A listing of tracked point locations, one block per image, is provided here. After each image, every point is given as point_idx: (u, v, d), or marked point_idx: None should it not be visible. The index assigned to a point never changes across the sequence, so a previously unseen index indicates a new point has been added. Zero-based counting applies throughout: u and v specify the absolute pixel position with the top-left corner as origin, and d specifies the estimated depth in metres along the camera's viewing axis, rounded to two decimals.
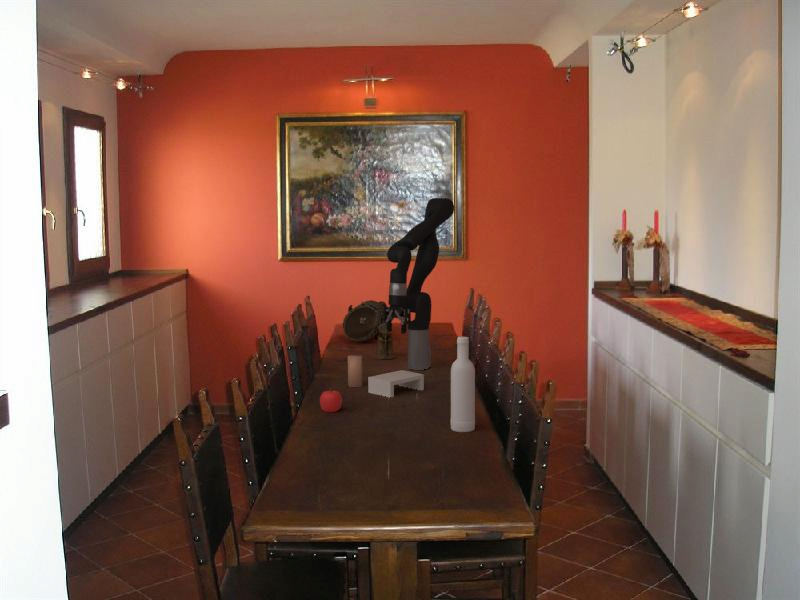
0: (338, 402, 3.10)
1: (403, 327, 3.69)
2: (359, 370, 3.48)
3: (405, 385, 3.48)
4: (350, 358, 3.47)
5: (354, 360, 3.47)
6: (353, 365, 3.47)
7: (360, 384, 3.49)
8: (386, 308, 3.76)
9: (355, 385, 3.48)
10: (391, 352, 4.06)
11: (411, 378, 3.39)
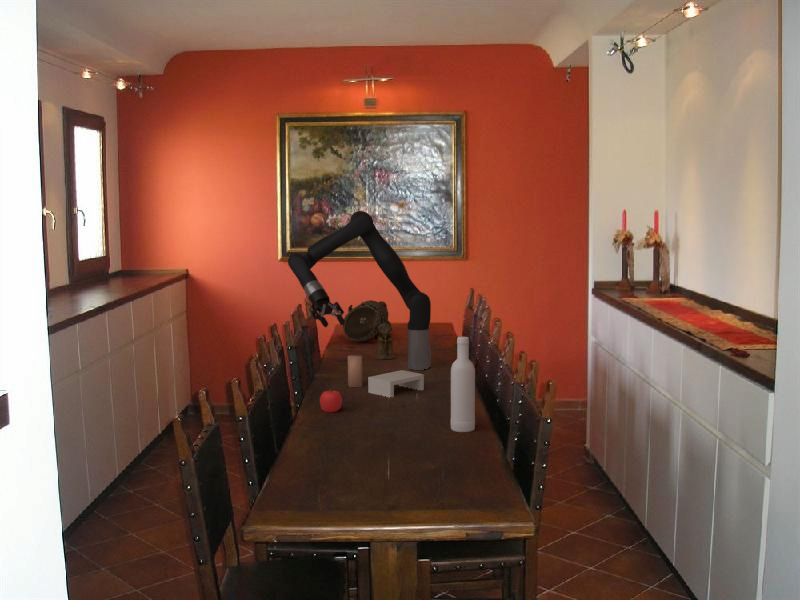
0: (338, 402, 3.10)
1: None
2: (359, 370, 3.48)
3: (405, 385, 3.48)
4: (350, 358, 3.47)
5: (354, 360, 3.47)
6: (352, 365, 3.47)
7: (360, 384, 3.49)
8: None
9: (355, 385, 3.48)
10: (391, 352, 4.06)
11: (411, 378, 3.39)
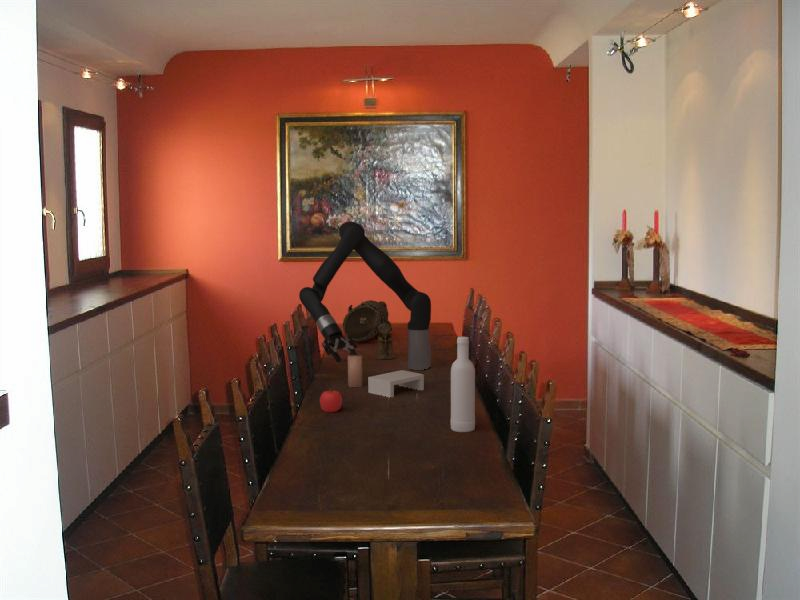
0: (338, 402, 3.10)
1: None
2: (359, 370, 3.48)
3: (405, 385, 3.48)
4: (350, 358, 3.47)
5: (354, 360, 3.47)
6: (352, 365, 3.47)
7: (360, 384, 3.49)
8: None
9: (355, 385, 3.48)
10: (391, 352, 4.06)
11: (411, 378, 3.39)
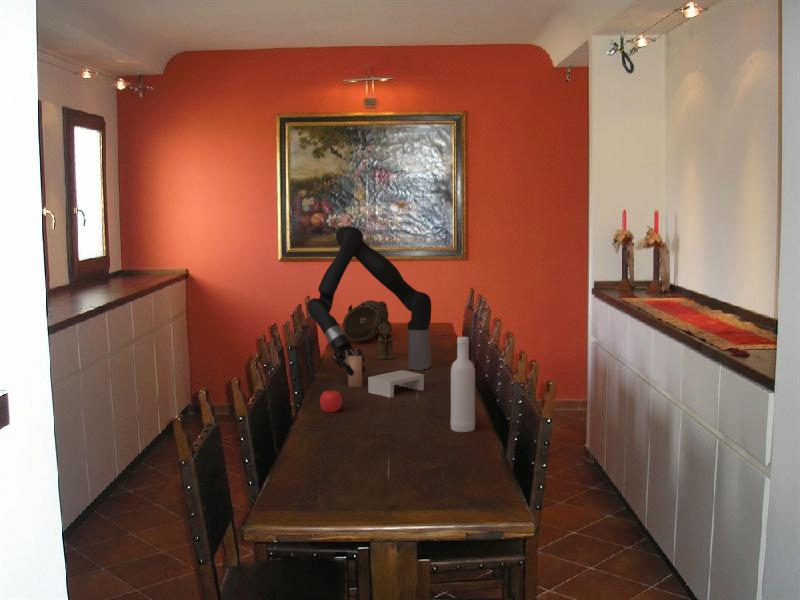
0: (338, 402, 3.10)
1: None
2: (359, 370, 3.48)
3: (405, 385, 3.48)
4: (350, 358, 3.47)
5: (354, 360, 3.47)
6: (353, 365, 3.47)
7: (360, 384, 3.49)
8: None
9: (355, 385, 3.48)
10: (391, 352, 4.06)
11: (411, 378, 3.39)
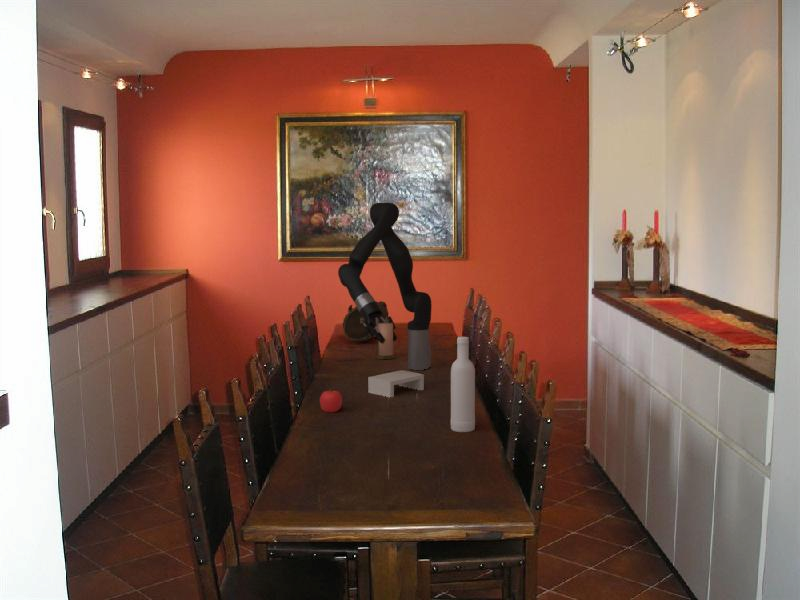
0: (338, 402, 3.10)
1: None
2: (390, 338, 3.39)
3: (405, 385, 3.48)
4: (381, 325, 3.39)
5: (385, 327, 3.38)
6: (383, 332, 3.38)
7: (391, 352, 3.40)
8: (386, 320, 3.49)
9: (386, 353, 3.39)
10: None
11: (411, 378, 3.39)
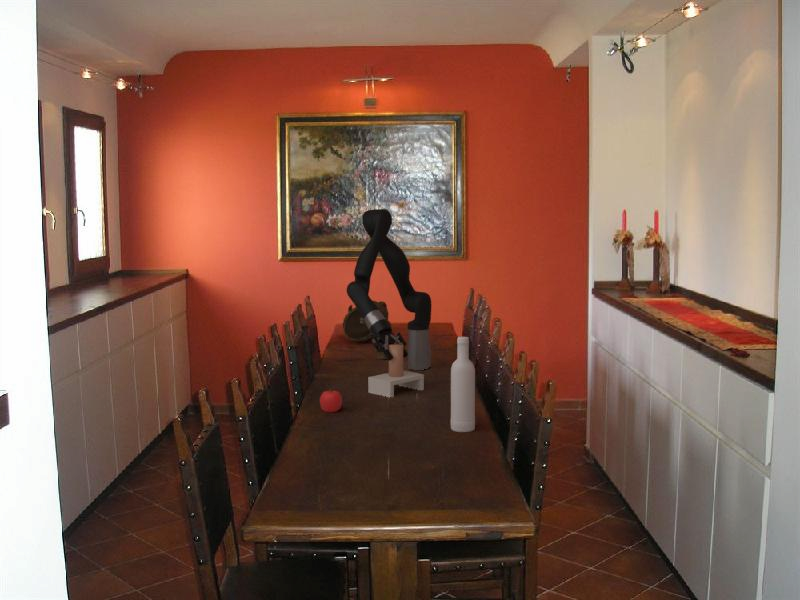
0: (338, 402, 3.10)
1: None
2: (400, 359, 3.38)
3: (405, 385, 3.48)
4: (391, 347, 3.38)
5: (395, 348, 3.37)
6: (394, 354, 3.38)
7: (401, 373, 3.39)
8: None
9: (396, 374, 3.38)
10: None
11: (411, 378, 3.39)
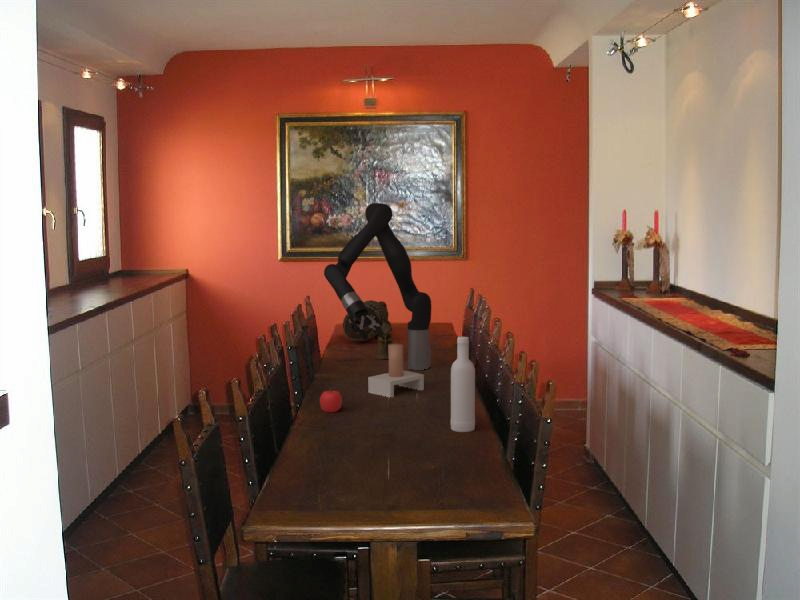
0: (338, 402, 3.10)
1: None
2: (400, 359, 3.38)
3: (405, 385, 3.48)
4: (391, 347, 3.38)
5: (395, 348, 3.37)
6: (393, 354, 3.38)
7: (401, 373, 3.39)
8: None
9: (396, 374, 3.38)
10: None
11: (411, 378, 3.39)
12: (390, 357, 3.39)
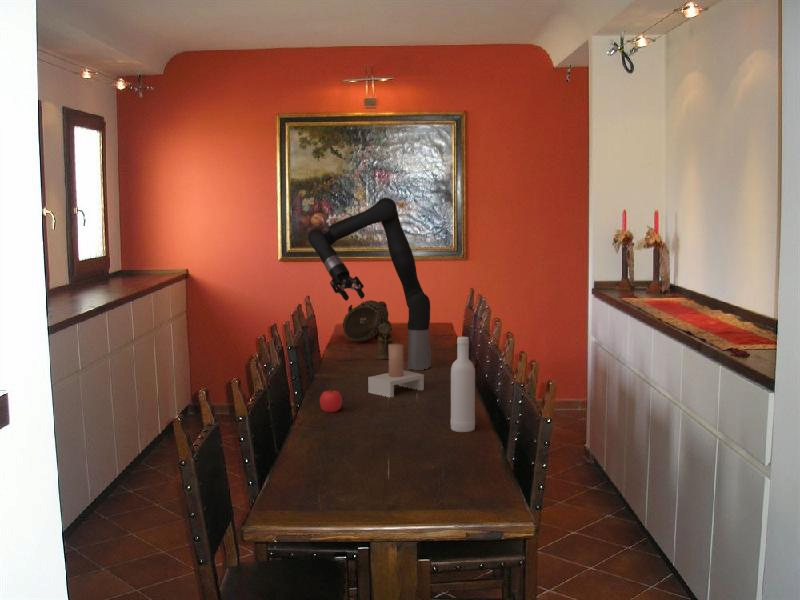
0: (338, 402, 3.10)
1: (342, 295, 3.62)
2: (400, 359, 3.38)
3: (405, 385, 3.48)
4: (391, 347, 3.38)
5: (395, 348, 3.37)
6: (393, 354, 3.37)
7: (401, 373, 3.39)
8: (353, 280, 3.73)
9: (396, 374, 3.38)
10: None
11: (411, 378, 3.39)
12: (390, 357, 3.38)
